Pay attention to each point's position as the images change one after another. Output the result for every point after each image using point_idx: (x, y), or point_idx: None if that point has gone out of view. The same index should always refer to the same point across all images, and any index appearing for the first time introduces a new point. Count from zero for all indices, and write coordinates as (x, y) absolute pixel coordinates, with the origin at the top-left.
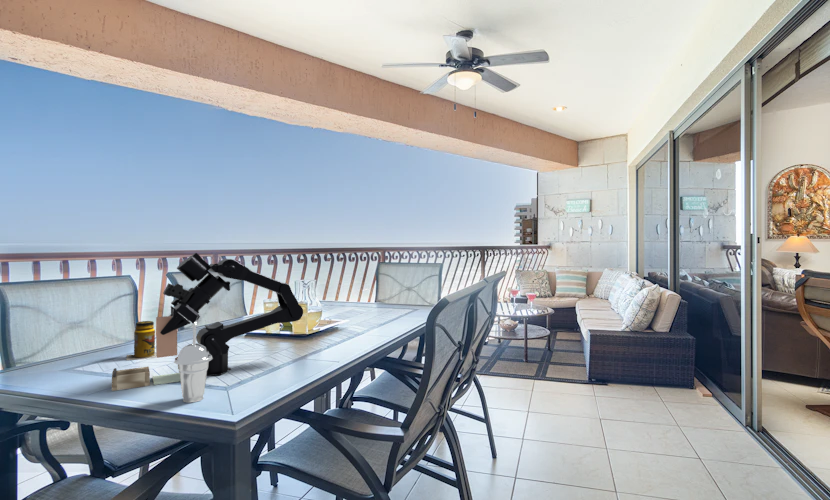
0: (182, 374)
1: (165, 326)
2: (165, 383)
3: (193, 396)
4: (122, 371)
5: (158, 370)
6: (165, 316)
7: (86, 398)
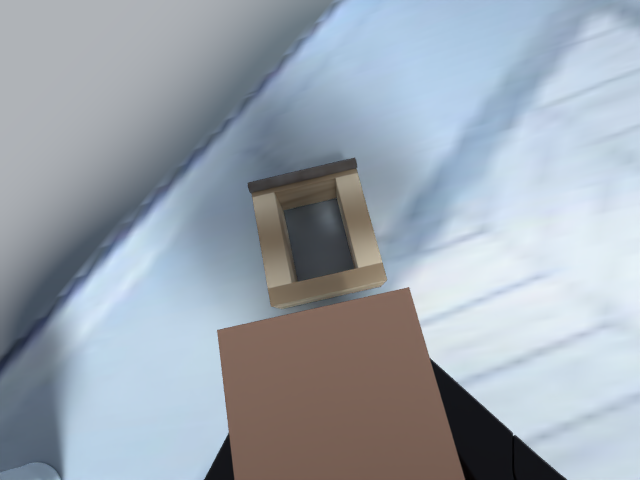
0: None
1: (226, 440)
2: None
3: None
4: (339, 194)
5: (509, 301)
6: (448, 459)
7: (216, 155)
